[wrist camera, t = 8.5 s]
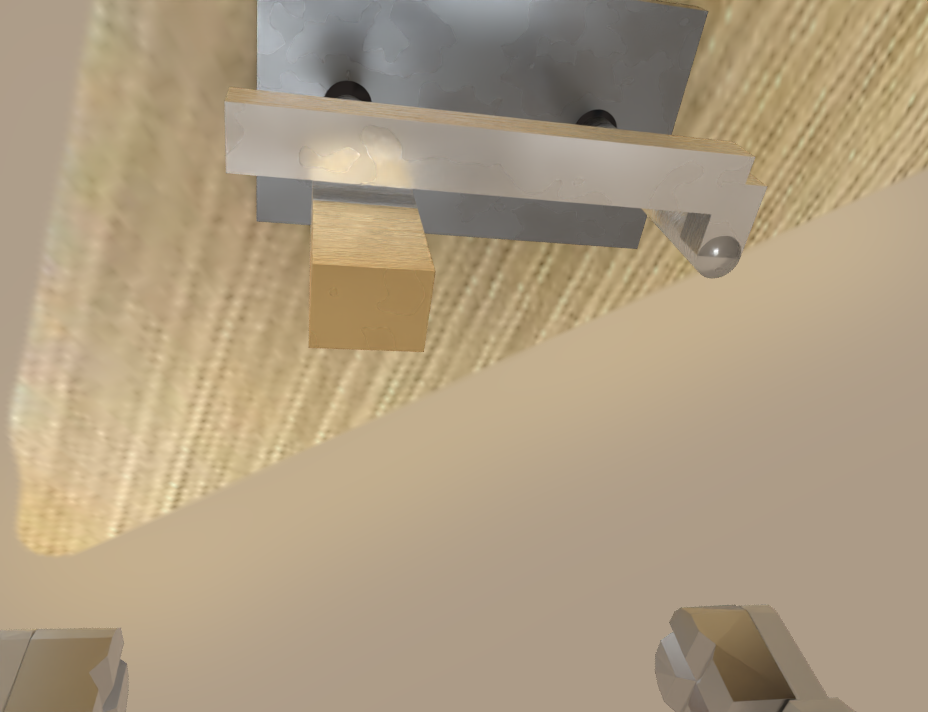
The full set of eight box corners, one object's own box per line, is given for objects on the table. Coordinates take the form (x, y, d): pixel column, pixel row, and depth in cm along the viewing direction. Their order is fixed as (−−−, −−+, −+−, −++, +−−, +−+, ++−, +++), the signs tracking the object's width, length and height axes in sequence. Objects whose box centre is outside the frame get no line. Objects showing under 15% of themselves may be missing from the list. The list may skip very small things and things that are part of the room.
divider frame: (629, 59, 35) (778, 159, 24) (606, 149, 37) (731, 279, 26) (257, 10, 31) (224, 101, 20) (256, 113, 34) (227, 247, 22)
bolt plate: (697, 6, 35) (708, 11, 34) (629, 239, 42) (637, 249, 41) (259, -60, 31) (257, -57, 30) (258, 211, 38) (256, 221, 36)
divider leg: (382, 85, 33) (435, 271, 19) (377, 138, 35) (423, 351, 20) (313, 77, 33) (312, 264, 18) (311, 132, 34) (308, 347, 19)
